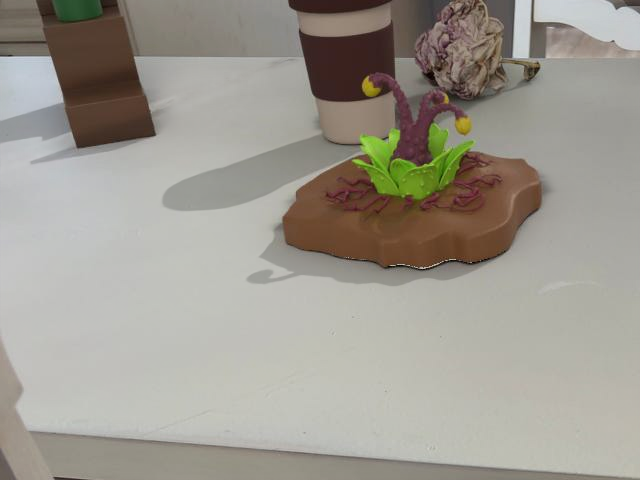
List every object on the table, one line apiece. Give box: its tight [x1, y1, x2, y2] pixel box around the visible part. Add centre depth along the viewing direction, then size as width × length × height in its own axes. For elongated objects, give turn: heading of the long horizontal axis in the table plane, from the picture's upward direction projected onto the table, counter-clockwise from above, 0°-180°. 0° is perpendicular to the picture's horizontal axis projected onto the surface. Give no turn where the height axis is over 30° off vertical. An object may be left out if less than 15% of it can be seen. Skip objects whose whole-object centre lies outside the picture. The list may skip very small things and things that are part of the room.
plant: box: [281, 72, 543, 268], centre depth 80 cm, size 20×20×11 cm
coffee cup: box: [287, 0, 397, 145], centre depth 97 cm, size 10×10×15 cm
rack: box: [35, 0, 157, 149], centre depth 105 cm, size 13×8×12 cm, turn 20°
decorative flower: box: [413, 0, 541, 101], centre depth 108 cm, size 10×10×15 cm
